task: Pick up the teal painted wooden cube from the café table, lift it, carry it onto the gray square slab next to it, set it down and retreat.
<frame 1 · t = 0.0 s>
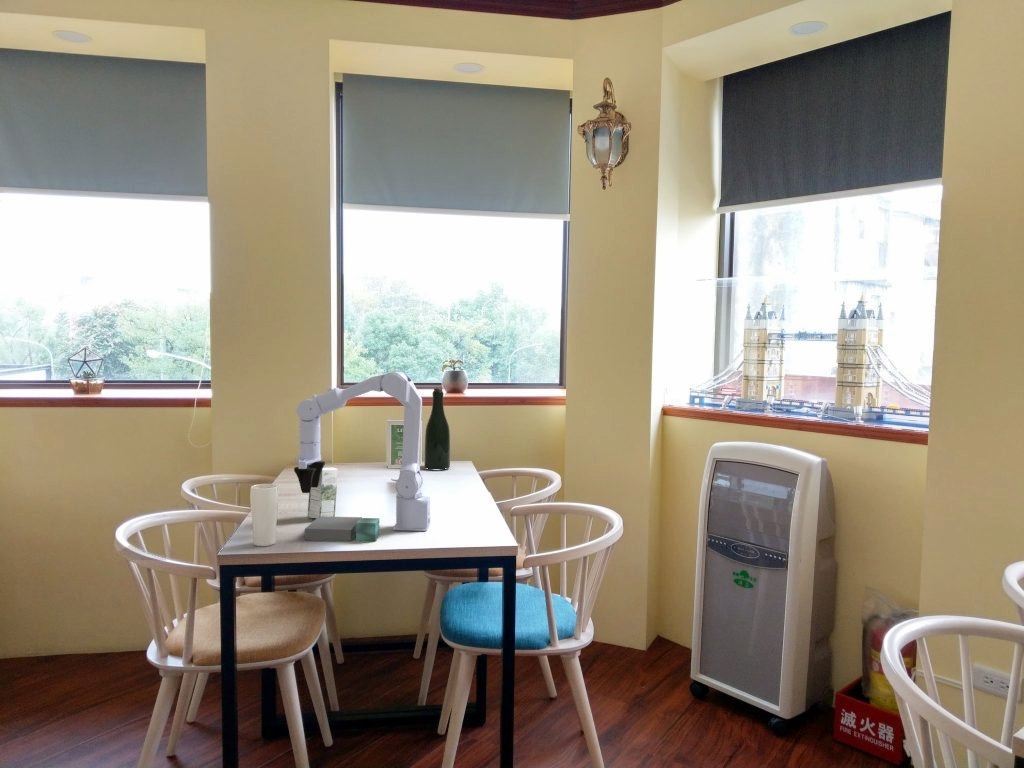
hand: (310, 489, 202), 10 cm above the table, fingers open, 7 cm apart
teal cube: (368, 539, 191), on the table
drinking glass: (264, 544, 184), on the table
dark green bottle: (437, 469, 293), on the table
gray square slab: (334, 533, 195), on the table
syrup box: (321, 517, 211), on the table, touching gripper
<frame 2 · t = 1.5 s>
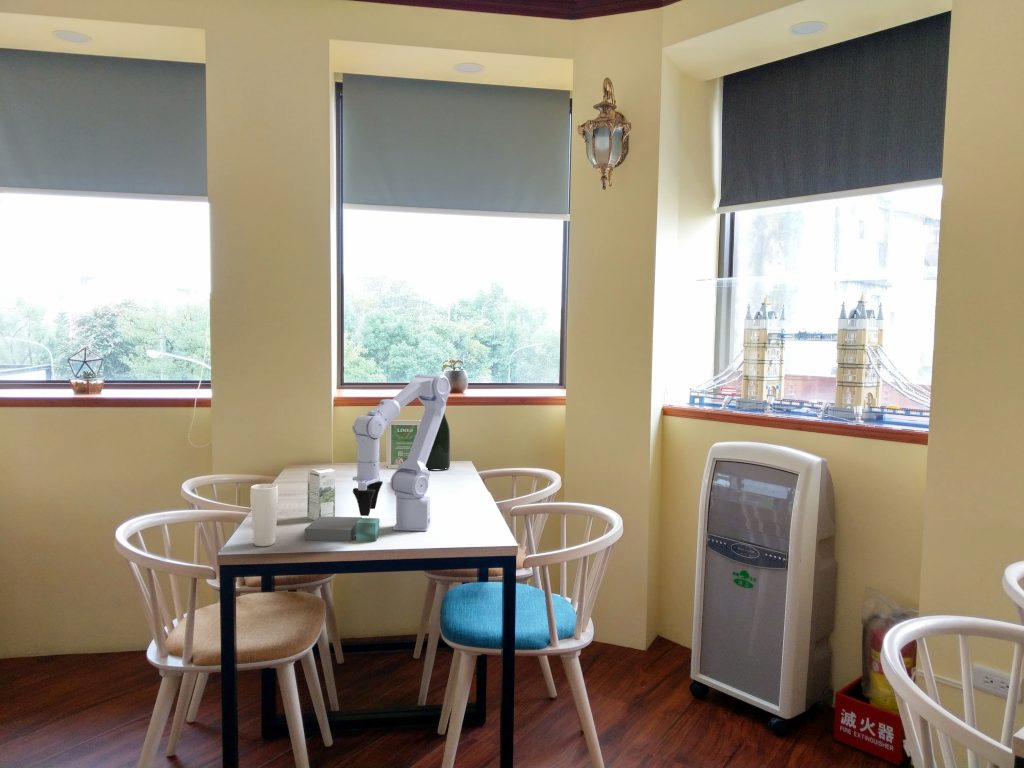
hand: (367, 512, 190), 7 cm above the table, fingers open, 7 cm apart
syrup box: (321, 519, 211), on the table
everything else where it was.
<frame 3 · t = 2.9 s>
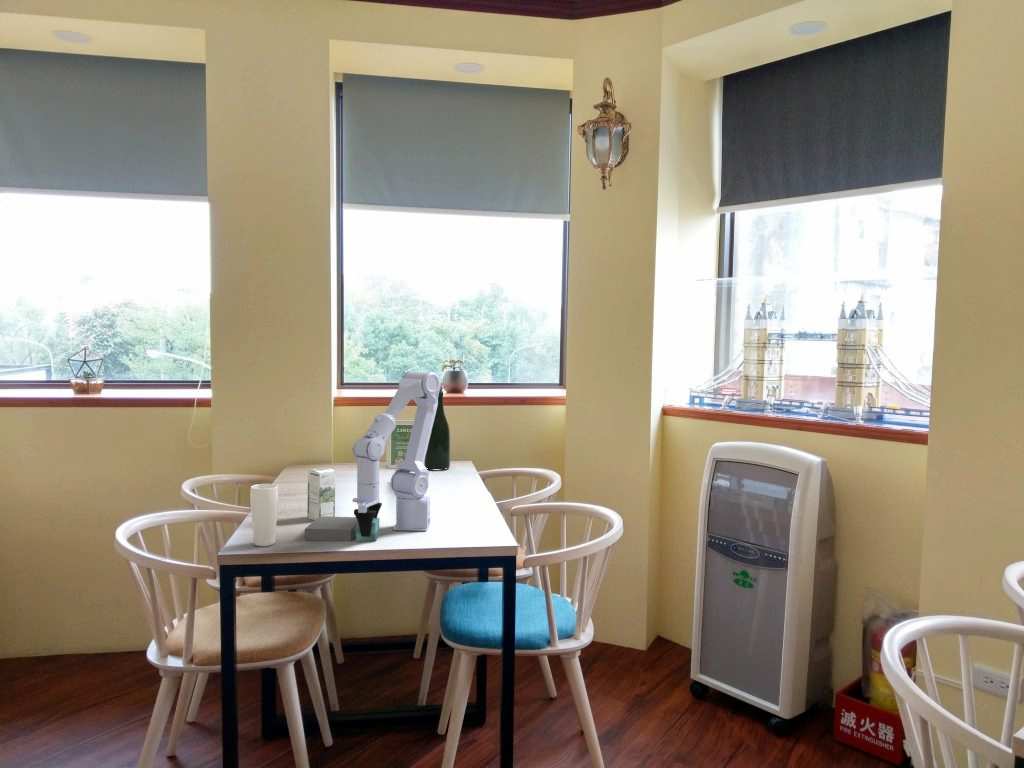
hand: (368, 533, 190), 1 cm above the table, fingers closed on teal cube, 5 cm apart
teal cube: (368, 538, 190), on the table, touching gripper
everything else where it was.
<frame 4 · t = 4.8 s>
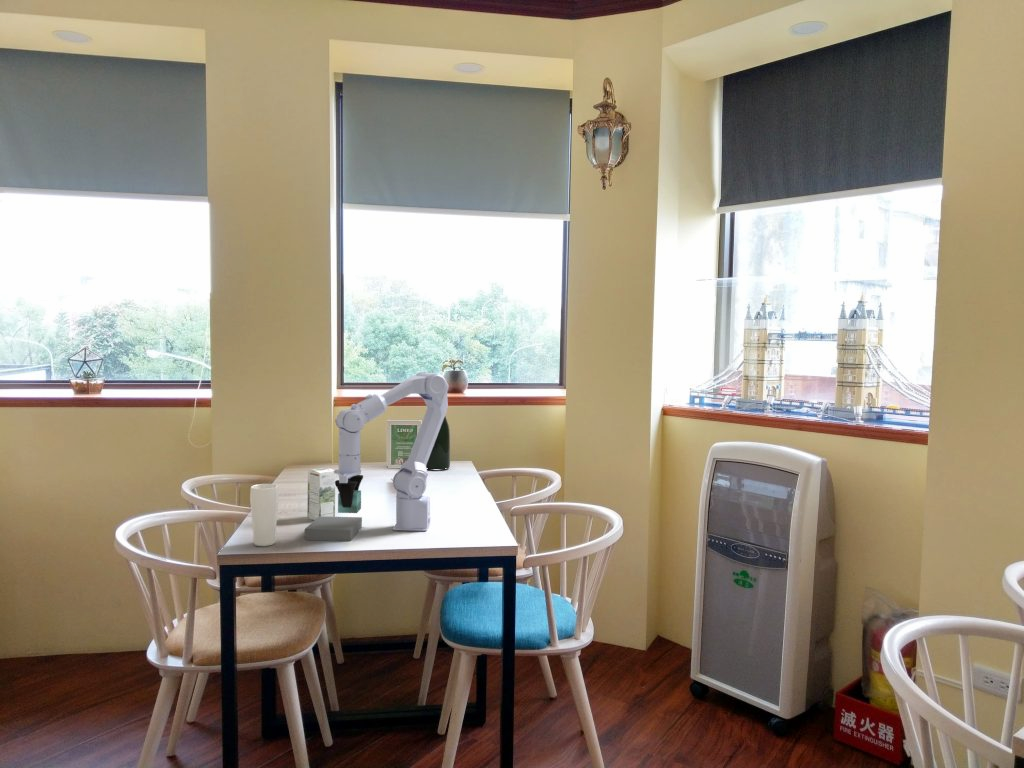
hand: (349, 504, 192), 8 cm above the table, fingers closed on teal cube, 5 cm apart
teal cube: (349, 510, 192), point 7 cm above the table, touching gripper
everything else where it was.
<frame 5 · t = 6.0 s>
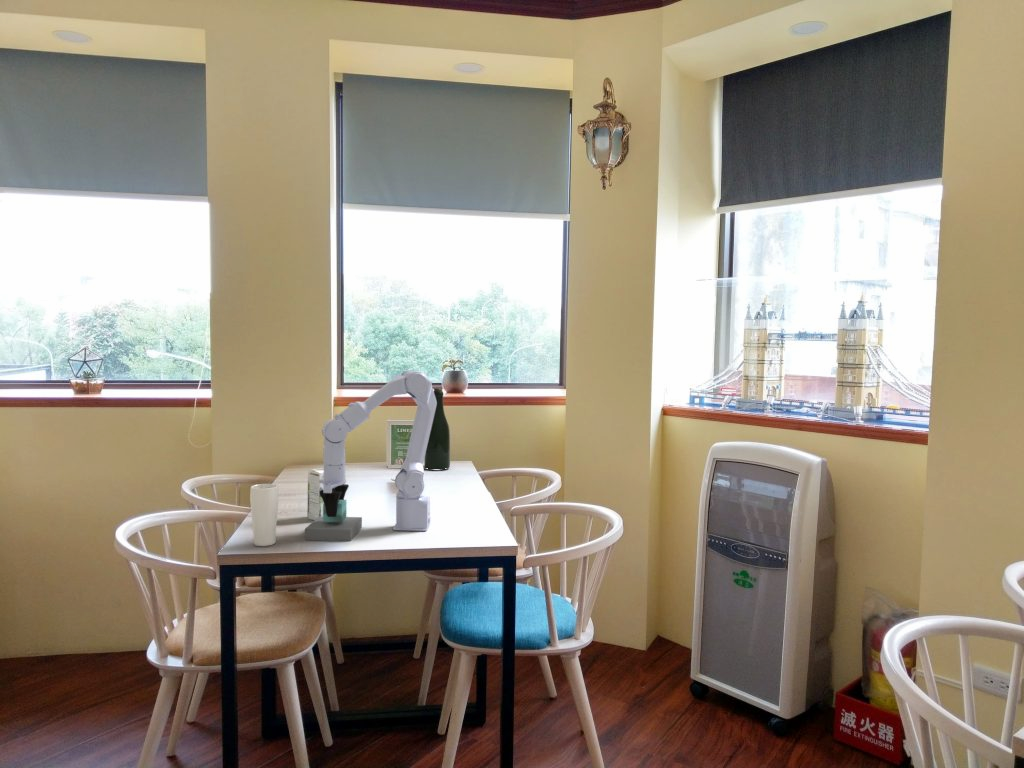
hand: (334, 514, 194), 5 cm above the table, fingers closed on teal cube, 5 cm apart
teal cube: (334, 519, 194), point 4 cm above the table, touching gripper
everything else where it was.
when the fingers open (5 cm above the table, at t = 6.7 s): teal cube stays where it is, resting on gray square slab.
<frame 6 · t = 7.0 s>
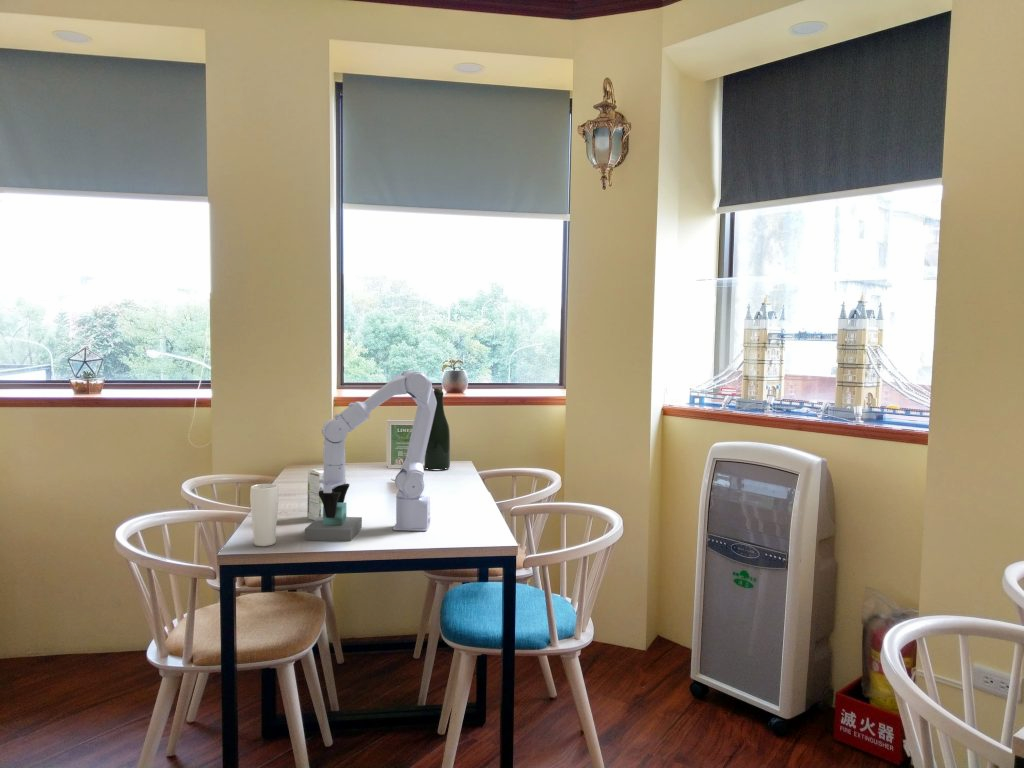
hand: (334, 514, 194), 5 cm above the table, fingers open, 7 cm apart
teal cube: (334, 522, 194), point 3 cm above the table, touching gray square slab
everything else where it was.
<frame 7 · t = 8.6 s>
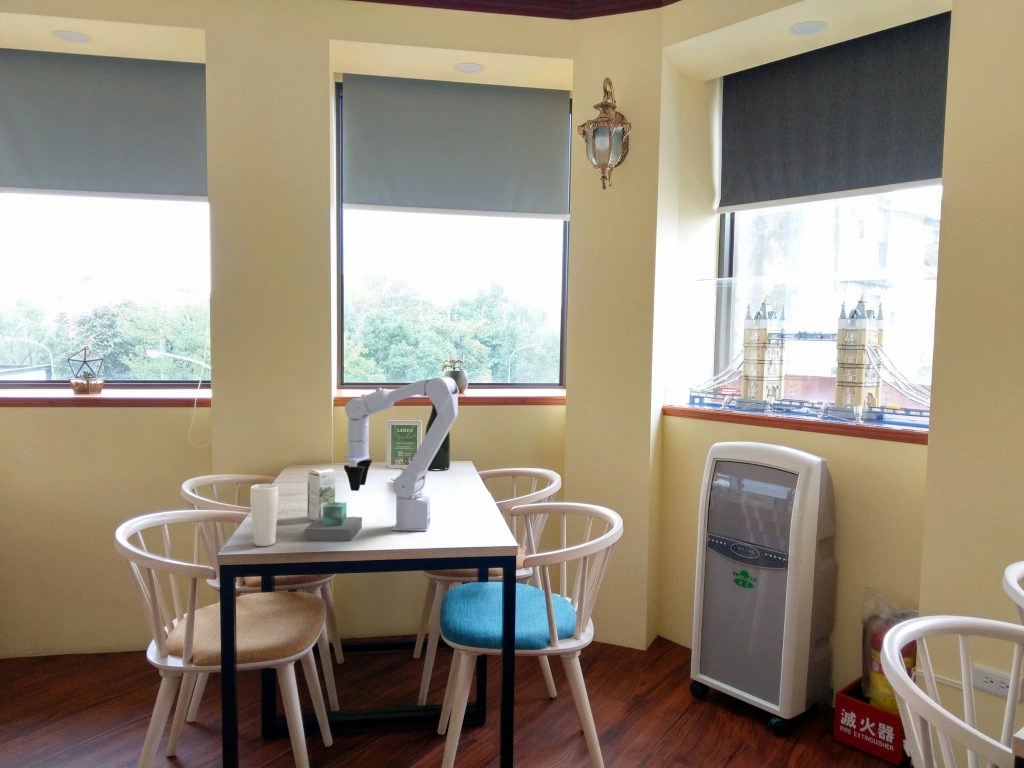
hand: (358, 487, 205), 10 cm above the table, fingers open, 7 cm apart
nothing on the table moved.
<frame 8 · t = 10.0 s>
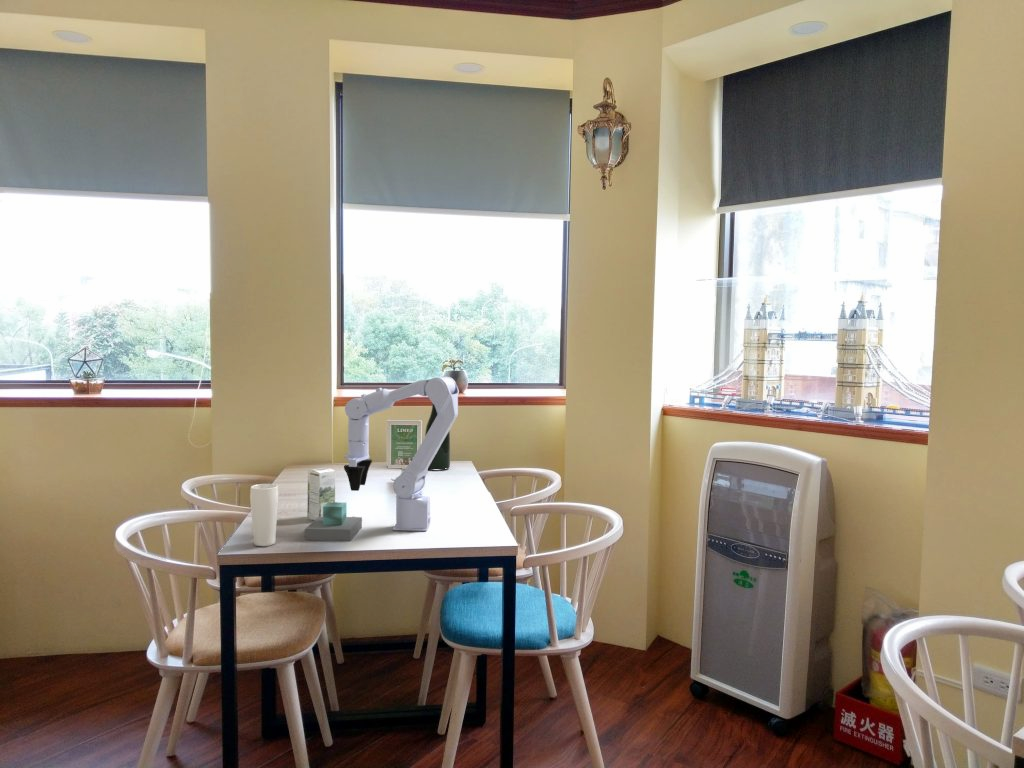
hand: (358, 487, 205), 10 cm above the table, fingers open, 7 cm apart
nothing on the table moved.
at the end: teal cube inside the target area on the gray square slab (0.1 cm from its centre), point 3.0 cm above the gray square slab's base; teal cube tilted 0°; the gripper is holding nothing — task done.
